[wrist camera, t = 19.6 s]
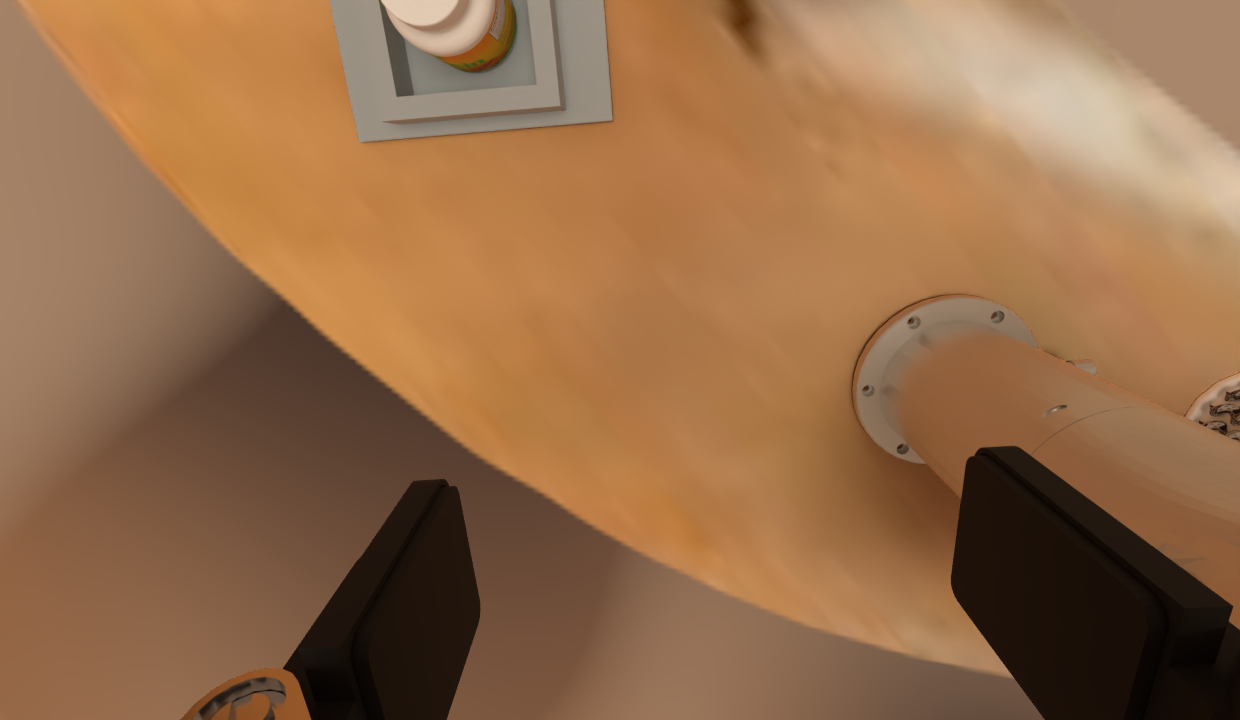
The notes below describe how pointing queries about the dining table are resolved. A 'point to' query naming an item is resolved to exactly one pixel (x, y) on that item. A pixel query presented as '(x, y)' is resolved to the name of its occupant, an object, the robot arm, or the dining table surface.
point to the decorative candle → (1219, 408)
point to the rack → (476, 74)
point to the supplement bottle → (458, 30)
